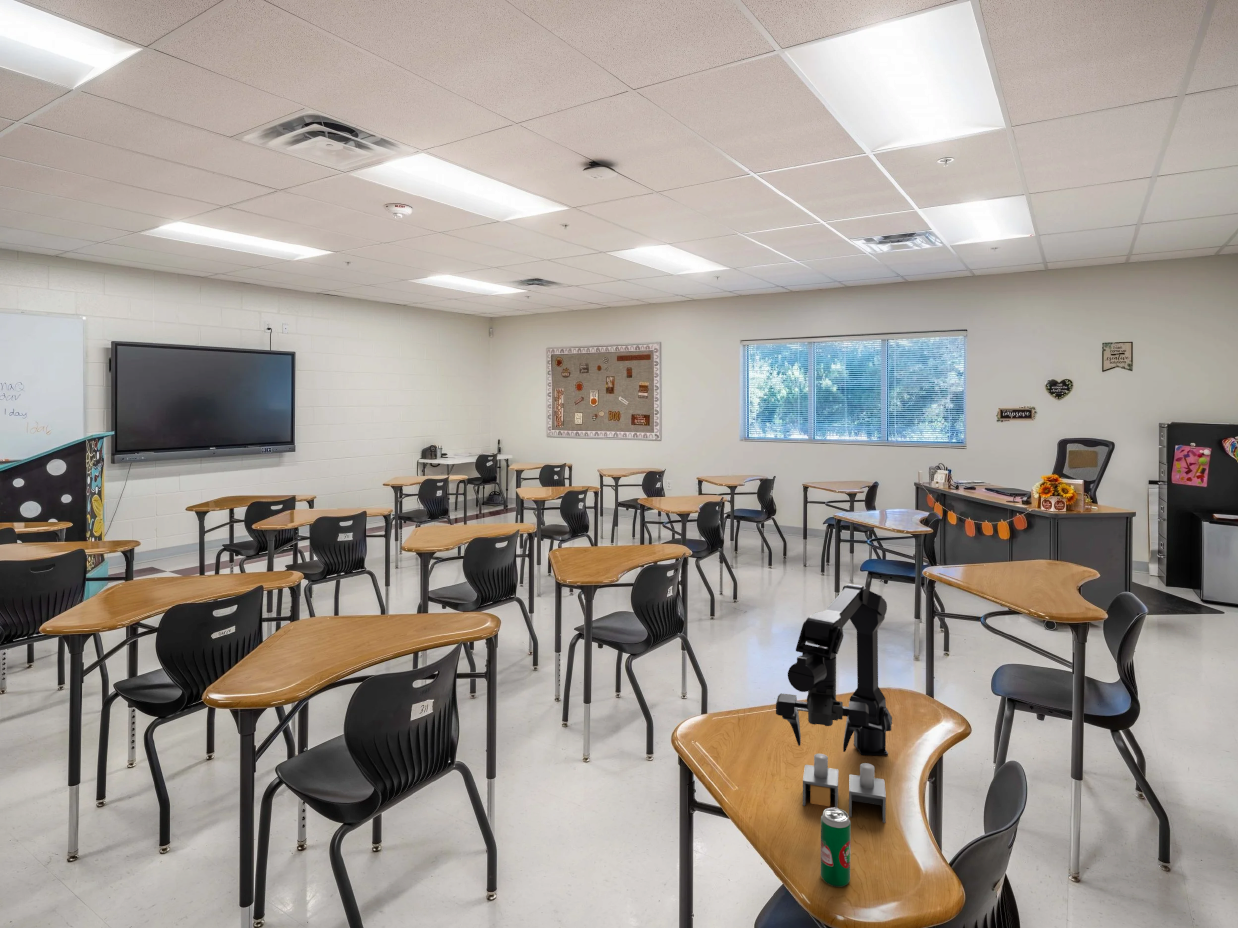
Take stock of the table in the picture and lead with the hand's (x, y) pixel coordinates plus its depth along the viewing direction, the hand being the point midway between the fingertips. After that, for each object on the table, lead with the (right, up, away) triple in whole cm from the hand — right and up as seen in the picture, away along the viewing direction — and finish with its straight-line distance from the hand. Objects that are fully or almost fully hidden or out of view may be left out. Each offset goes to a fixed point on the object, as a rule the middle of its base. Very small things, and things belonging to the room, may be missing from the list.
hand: (821, 747), depth 146 cm
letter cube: (0, -12, +1) cm, 12 cm away
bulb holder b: (0, -11, +1) cm, 11 cm away
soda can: (-5, -13, -25) cm, 28 cm away
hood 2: (+8, -12, -4) cm, 15 cm away
